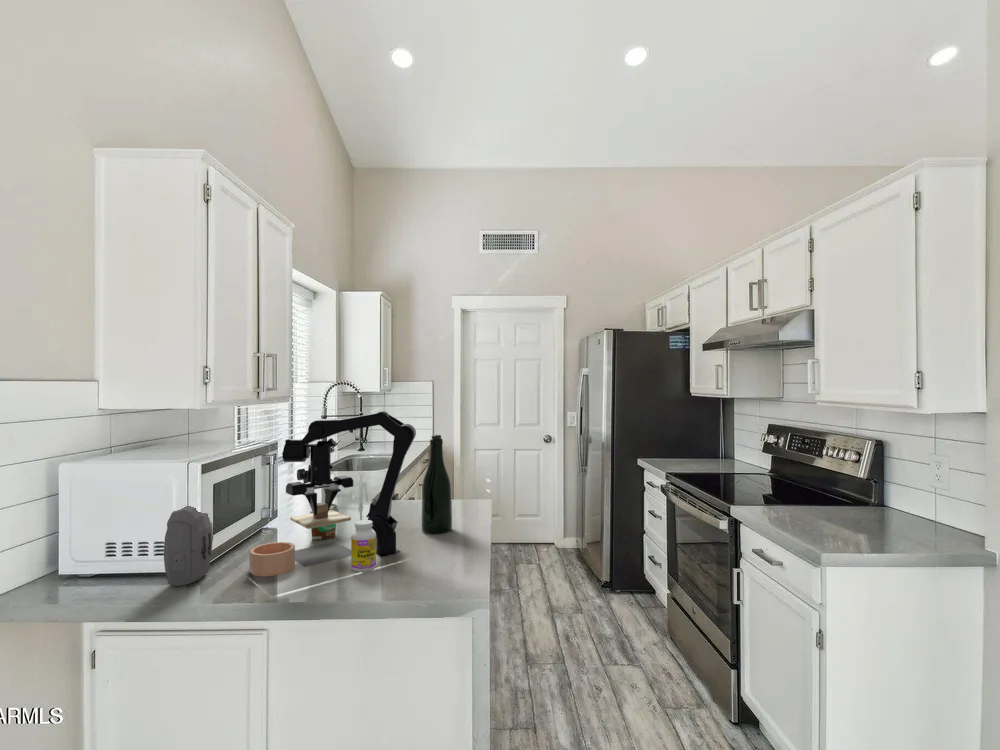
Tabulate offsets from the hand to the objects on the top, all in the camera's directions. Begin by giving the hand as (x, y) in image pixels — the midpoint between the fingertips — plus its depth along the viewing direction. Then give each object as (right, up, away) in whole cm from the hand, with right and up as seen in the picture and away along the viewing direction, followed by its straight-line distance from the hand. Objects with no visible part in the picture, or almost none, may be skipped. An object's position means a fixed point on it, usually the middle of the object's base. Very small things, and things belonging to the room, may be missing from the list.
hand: (320, 514), depth 157 cm
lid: (0, -2, 0) cm, 2 cm away
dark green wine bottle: (+32, -12, +25) cm, 42 cm away
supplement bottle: (+16, -12, -11) cm, 23 cm away
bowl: (-9, -12, -12) cm, 19 cm away
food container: (-3, -13, +17) cm, 22 cm away
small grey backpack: (-27, -13, -19) cm, 35 cm away
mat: (0, -12, 0) cm, 12 cm away
